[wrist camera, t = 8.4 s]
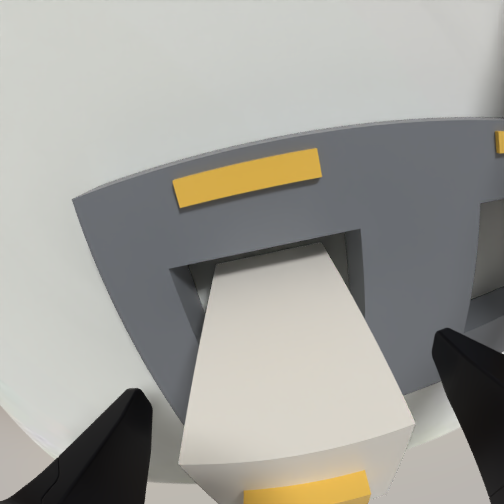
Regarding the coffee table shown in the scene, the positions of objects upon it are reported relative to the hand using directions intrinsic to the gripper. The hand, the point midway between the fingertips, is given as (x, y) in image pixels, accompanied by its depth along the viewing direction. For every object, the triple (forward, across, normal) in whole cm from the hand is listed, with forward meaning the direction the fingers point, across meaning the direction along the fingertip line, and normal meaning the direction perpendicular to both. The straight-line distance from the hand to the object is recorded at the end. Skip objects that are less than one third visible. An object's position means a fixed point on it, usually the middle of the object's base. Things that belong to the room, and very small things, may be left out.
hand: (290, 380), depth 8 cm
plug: (+4, 0, 0) cm, 5 cm away
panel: (+4, -6, 0) cm, 7 cm away
